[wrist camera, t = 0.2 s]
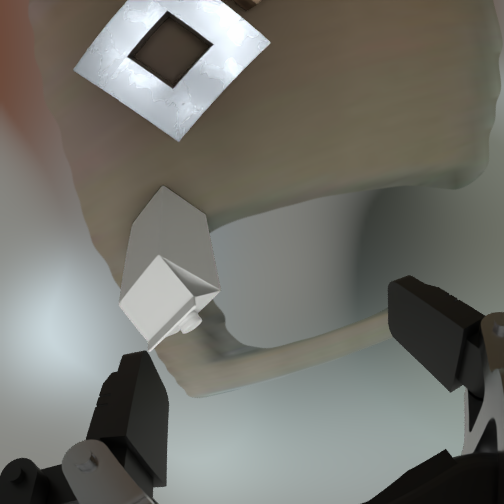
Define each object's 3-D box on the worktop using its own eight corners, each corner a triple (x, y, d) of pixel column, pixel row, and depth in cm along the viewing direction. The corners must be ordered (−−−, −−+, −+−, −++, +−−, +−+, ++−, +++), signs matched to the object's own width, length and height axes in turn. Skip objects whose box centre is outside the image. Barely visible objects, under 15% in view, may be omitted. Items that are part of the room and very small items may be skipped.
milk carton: (131, 224, 39) (114, 337, 24) (162, 183, 37) (157, 286, 22) (173, 250, 43) (180, 363, 28) (206, 213, 41) (229, 322, 26)
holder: (85, 68, 26) (73, 70, 23) (167, -27, 22) (166, -38, 19) (178, 132, 34) (178, 141, 30) (259, 44, 29) (270, 42, 26)
